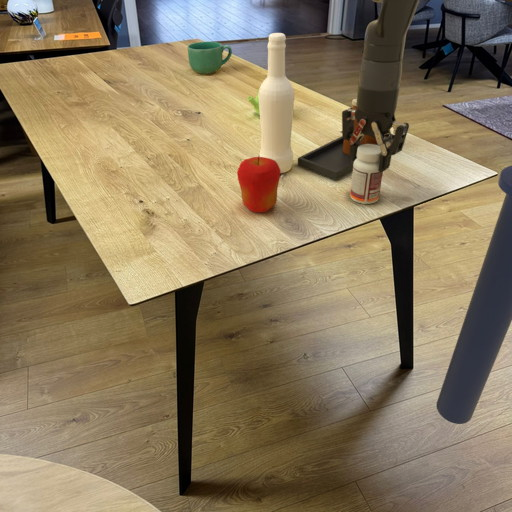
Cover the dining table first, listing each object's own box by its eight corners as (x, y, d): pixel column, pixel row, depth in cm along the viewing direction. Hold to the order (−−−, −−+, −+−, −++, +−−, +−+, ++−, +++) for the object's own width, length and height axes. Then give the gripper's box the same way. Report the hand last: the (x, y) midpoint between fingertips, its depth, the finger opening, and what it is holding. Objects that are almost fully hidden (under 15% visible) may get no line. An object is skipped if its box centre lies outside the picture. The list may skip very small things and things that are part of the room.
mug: (191, 77, 176) (189, 50, 171) (188, 68, 186) (185, 42, 181) (235, 74, 179) (234, 47, 173) (230, 65, 189) (228, 39, 183)
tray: (362, 132, 132) (363, 125, 130) (399, 144, 125) (401, 136, 124) (297, 165, 116) (297, 157, 115) (335, 180, 109) (336, 172, 108)
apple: (282, 198, 103) (282, 147, 96) (277, 218, 97) (277, 165, 90) (243, 195, 105) (241, 145, 98) (235, 215, 98) (232, 163, 91)
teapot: (255, 107, 150) (254, 79, 145) (291, 108, 148) (292, 81, 143) (247, 120, 141) (246, 91, 136) (286, 122, 139) (286, 93, 134)
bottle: (256, 162, 118) (253, 30, 100) (287, 158, 119) (290, 28, 101) (263, 176, 112) (261, 39, 94) (296, 173, 113) (301, 36, 95)
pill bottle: (378, 192, 105) (385, 143, 98) (379, 206, 100) (386, 156, 93) (350, 190, 106) (355, 141, 99) (349, 203, 101) (354, 154, 94)
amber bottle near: (367, 150, 121) (374, 99, 113) (355, 157, 118) (361, 105, 110) (350, 145, 124) (355, 95, 116) (338, 151, 121) (343, 100, 113)
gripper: (424, 85, 86) (409, 170, 96) (358, 71, 95) (350, 150, 105) (402, 96, 82) (388, 183, 92) (335, 79, 90) (329, 161, 100)
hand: (368, 165), depth 98 cm, fingers closed on pill bottle, 6 cm apart
